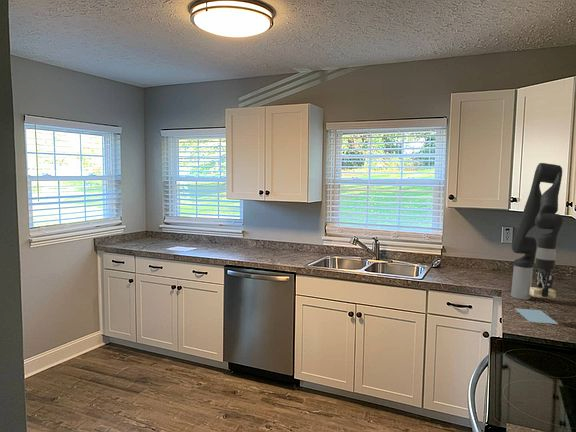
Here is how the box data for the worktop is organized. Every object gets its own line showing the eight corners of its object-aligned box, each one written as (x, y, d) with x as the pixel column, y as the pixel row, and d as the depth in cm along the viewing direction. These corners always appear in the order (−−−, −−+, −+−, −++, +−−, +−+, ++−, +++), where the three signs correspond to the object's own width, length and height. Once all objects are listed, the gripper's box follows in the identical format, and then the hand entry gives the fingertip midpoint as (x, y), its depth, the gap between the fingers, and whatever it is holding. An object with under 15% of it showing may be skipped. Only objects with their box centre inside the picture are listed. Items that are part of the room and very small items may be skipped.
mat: (514, 309, 215) (514, 308, 215) (540, 311, 213) (540, 310, 213) (529, 322, 196) (529, 321, 196) (558, 324, 194) (558, 324, 194)
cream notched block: (550, 295, 200) (551, 288, 200) (555, 298, 195) (556, 291, 195) (529, 293, 202) (529, 287, 201) (533, 296, 197) (534, 289, 196)
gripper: (561, 261, 189) (558, 300, 191) (548, 255, 203) (544, 291, 205) (543, 260, 190) (539, 298, 192) (530, 254, 205) (527, 290, 206)
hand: (542, 295), depth 198 cm, fingers closed on cream notched block, 5 cm apart
